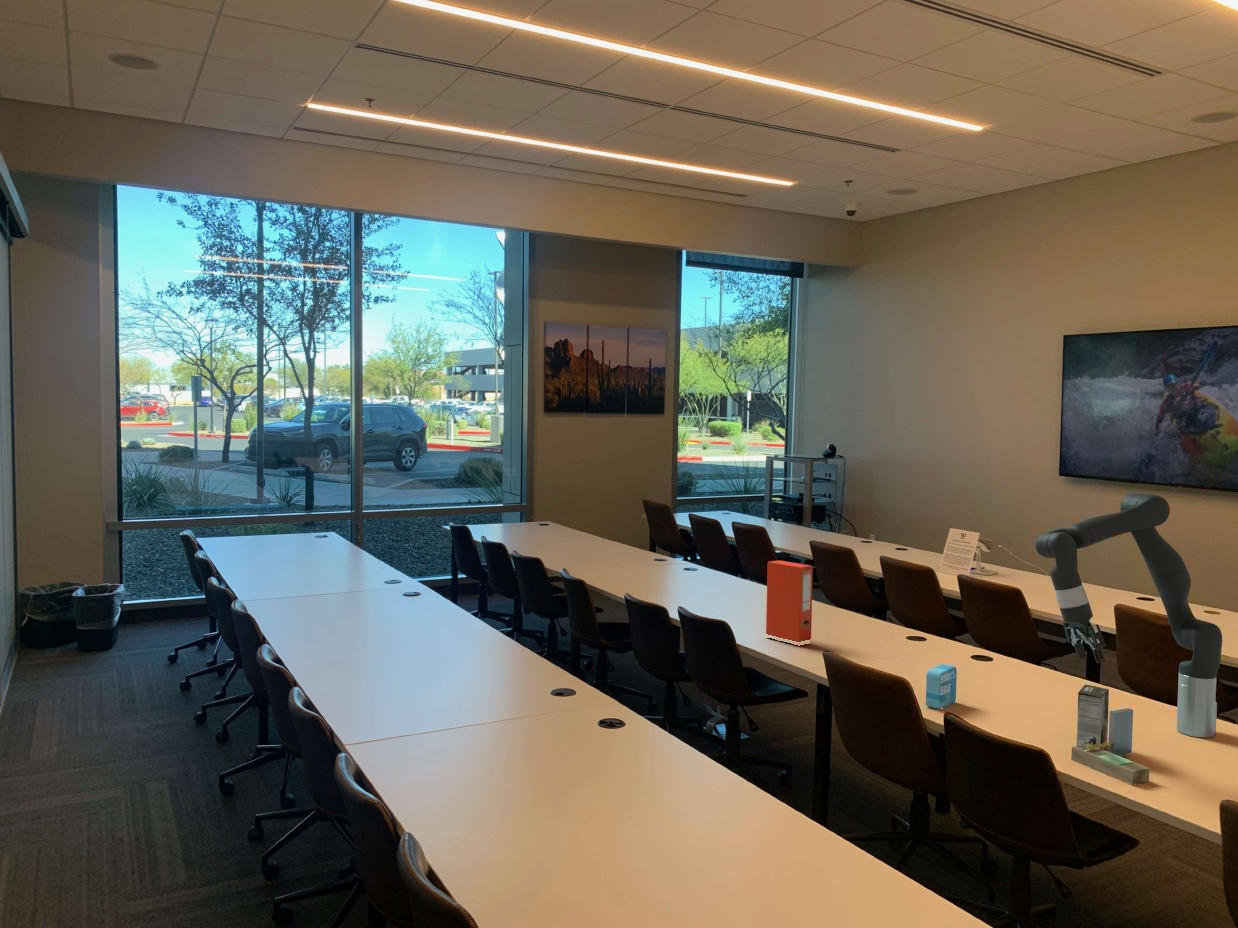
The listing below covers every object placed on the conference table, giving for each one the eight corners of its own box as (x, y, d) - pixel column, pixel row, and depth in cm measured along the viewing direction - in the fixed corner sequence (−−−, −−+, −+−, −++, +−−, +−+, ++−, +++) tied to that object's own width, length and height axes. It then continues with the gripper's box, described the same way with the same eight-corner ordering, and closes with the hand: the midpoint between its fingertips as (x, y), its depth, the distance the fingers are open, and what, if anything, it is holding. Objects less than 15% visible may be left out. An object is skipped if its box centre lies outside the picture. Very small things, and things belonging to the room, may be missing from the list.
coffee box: (1082, 739, 255) (1084, 683, 254) (1108, 744, 251) (1110, 688, 250) (1075, 748, 248) (1077, 691, 247) (1101, 753, 244) (1103, 696, 243)
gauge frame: (1087, 756, 242) (1088, 743, 242) (1148, 781, 225) (1149, 767, 225) (1071, 759, 240) (1071, 745, 239) (1132, 785, 223) (1132, 770, 223)
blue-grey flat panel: (1126, 751, 243) (1128, 707, 242) (1131, 753, 242) (1133, 709, 241) (1085, 759, 237) (1086, 714, 237) (1090, 761, 236) (1091, 716, 235)
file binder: (778, 635, 374) (780, 559, 372) (811, 643, 361) (812, 565, 359) (765, 638, 369) (767, 561, 367) (798, 646, 356) (799, 567, 354)
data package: (938, 710, 279) (939, 673, 278) (925, 707, 282) (926, 670, 281) (956, 702, 287) (957, 665, 287) (942, 699, 291) (943, 662, 290)
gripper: (1101, 600, 238) (1120, 659, 237) (1071, 597, 252) (1089, 653, 251) (1075, 608, 237) (1094, 667, 236) (1047, 604, 252) (1064, 660, 251)
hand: (1091, 660), depth 244 cm, fingers open, 8 cm apart
